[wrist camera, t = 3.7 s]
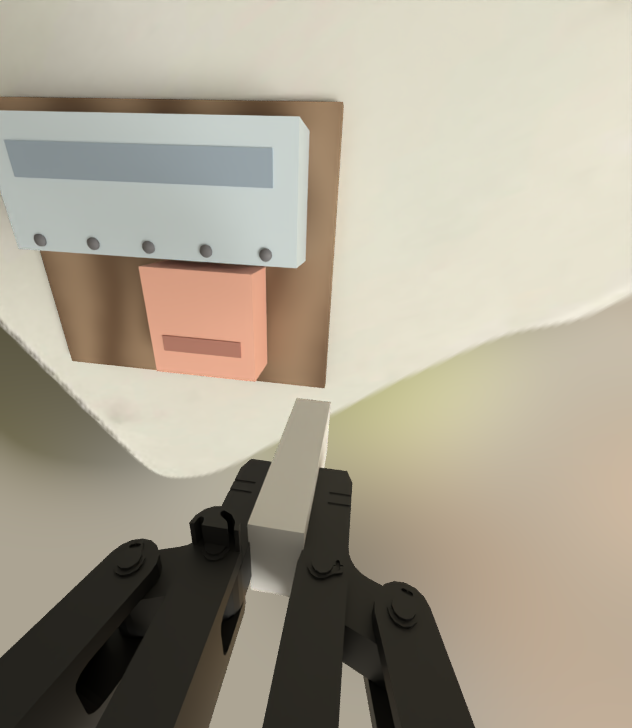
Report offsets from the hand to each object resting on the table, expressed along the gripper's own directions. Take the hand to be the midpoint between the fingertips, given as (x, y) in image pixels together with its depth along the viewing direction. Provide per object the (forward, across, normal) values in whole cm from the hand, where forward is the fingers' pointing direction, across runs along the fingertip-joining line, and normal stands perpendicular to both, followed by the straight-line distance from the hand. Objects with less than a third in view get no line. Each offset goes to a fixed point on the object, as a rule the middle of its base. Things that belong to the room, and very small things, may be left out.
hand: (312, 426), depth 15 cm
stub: (+13, -10, +1) cm, 16 cm away
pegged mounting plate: (+14, -13, +10) cm, 21 cm away
